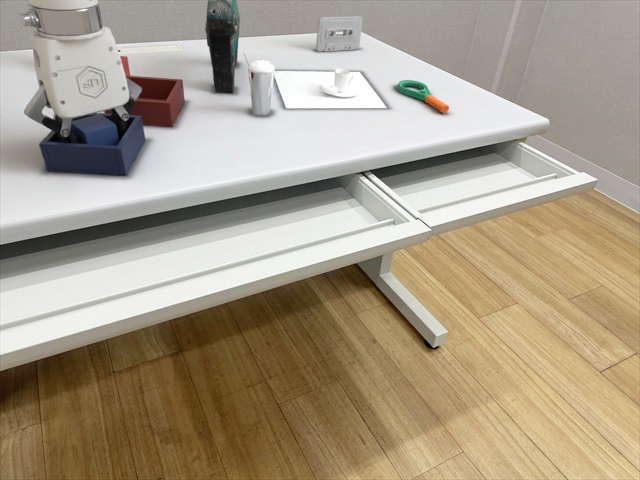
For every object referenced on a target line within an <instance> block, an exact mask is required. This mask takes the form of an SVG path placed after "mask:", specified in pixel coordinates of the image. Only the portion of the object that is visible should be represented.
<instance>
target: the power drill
mask: <svg viewBox="0 0 640 480" xmlns="http://www.w3.org/2000/svg"><path fill="white" fill-rule="evenodd" d="M205 20H206V21H205V27H204V30H205V33H206V46H207V47H208V50H209V57H210V62H211V68H212V77H213V78H212V81H213V88H214V91H215V93H220V94H222V93H223V94H233V93H234V90H235V75H236V67H237V66H238V56H239V55H238V53H239V39H240V22H241V16H240V11H239V8H238V3H237V0H207V6H206V19H205Z"/></svg>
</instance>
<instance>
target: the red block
mask: <svg viewBox="0 0 640 480" xmlns="http://www.w3.org/2000/svg"><path fill="white" fill-rule="evenodd" d="M120 58H121V61H122V65H123V68H124V72H125V75H127V76H131V70H130V66H129V59H128V56H127V55H125V56H124V55H120Z"/></svg>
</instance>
